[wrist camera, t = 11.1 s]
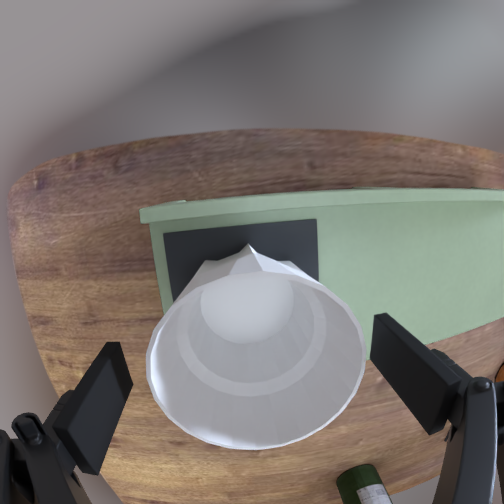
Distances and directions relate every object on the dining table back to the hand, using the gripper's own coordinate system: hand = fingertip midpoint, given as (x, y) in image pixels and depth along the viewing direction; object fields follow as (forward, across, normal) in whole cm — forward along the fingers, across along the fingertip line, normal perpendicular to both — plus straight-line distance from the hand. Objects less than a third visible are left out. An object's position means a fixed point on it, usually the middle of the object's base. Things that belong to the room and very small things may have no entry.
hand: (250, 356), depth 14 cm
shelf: (+17, +13, 0) cm, 22 cm away
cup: (+8, 0, 0) cm, 8 cm away
